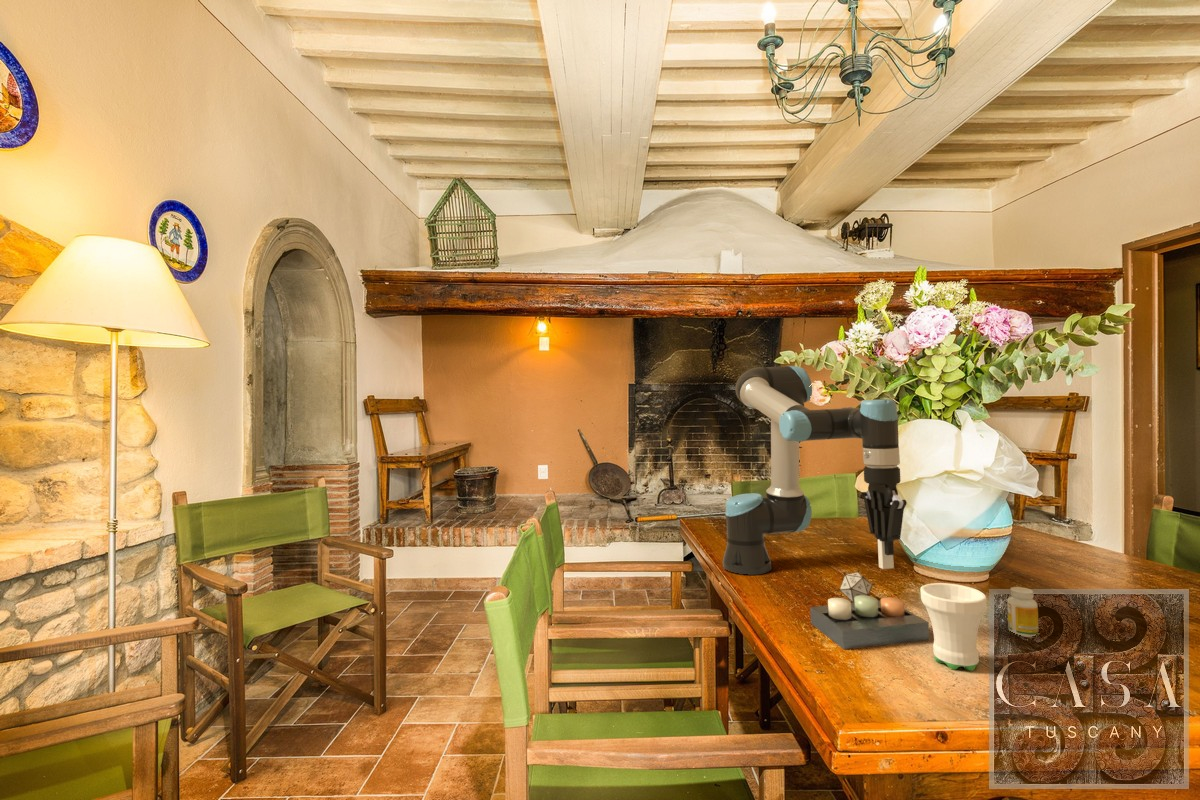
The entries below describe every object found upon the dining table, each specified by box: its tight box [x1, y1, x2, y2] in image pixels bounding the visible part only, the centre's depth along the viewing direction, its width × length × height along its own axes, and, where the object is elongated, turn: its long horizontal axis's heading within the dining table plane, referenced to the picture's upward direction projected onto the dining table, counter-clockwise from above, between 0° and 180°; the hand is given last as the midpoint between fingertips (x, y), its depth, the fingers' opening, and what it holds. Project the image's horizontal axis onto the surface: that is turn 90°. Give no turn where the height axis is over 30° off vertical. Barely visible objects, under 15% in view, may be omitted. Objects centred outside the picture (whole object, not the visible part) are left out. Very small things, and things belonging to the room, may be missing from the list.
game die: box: [836, 569, 876, 603], centre depth 143 cm, size 9×8×10 cm
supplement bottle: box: [1006, 586, 1040, 638], centre depth 121 cm, size 5×5×10 cm
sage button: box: [854, 595, 879, 617], centre depth 125 cm, size 5×5×3 cm
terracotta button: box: [880, 596, 906, 617], centre depth 126 cm, size 5×5×3 cm
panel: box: [809, 599, 930, 650], centre depth 125 cm, size 14×20×4 cm
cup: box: [920, 582, 988, 672], centre depth 109 cm, size 11×11×14 cm
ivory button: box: [827, 597, 852, 620], centre depth 124 cm, size 5×5×3 cm
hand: (886, 567), depth 126 cm, fingers closed
